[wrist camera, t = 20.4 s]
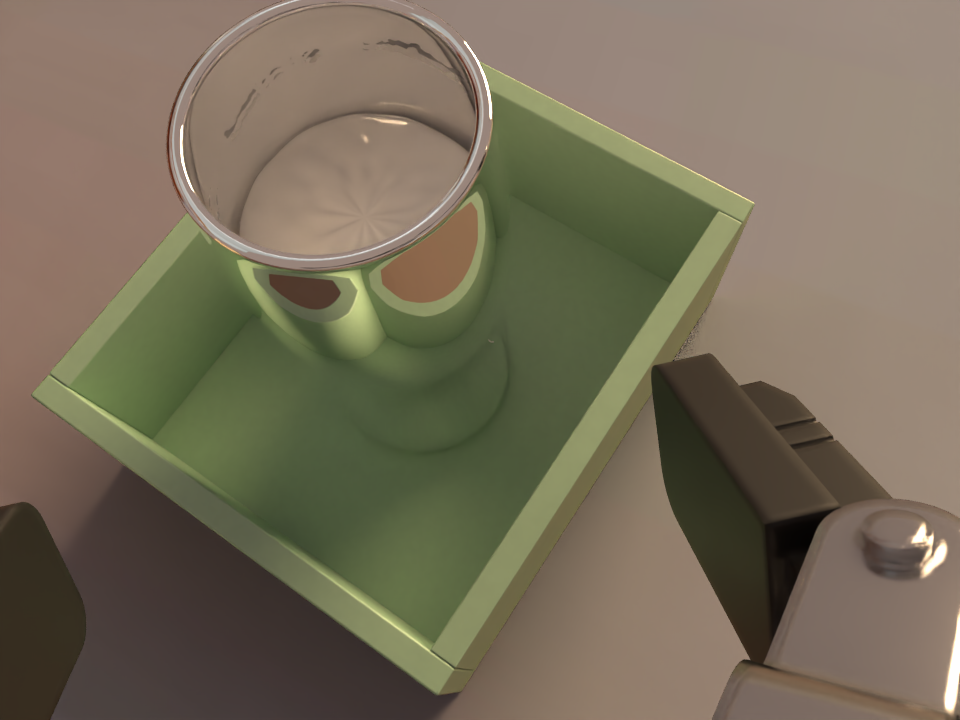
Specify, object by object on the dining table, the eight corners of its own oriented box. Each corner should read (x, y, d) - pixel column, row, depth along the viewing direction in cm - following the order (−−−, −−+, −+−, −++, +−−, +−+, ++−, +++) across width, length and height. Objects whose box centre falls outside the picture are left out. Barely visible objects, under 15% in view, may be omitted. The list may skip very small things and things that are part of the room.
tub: (397, 122, 36) (366, 2, 30) (713, 296, 32) (756, 202, 26) (131, 452, 32) (29, 395, 26) (460, 692, 28) (437, 696, 22)
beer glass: (410, 507, 30) (290, 352, 16) (289, 364, 32) (88, 113, 18) (561, 377, 31) (578, 124, 17) (436, 247, 33) (357, -74, 19)
